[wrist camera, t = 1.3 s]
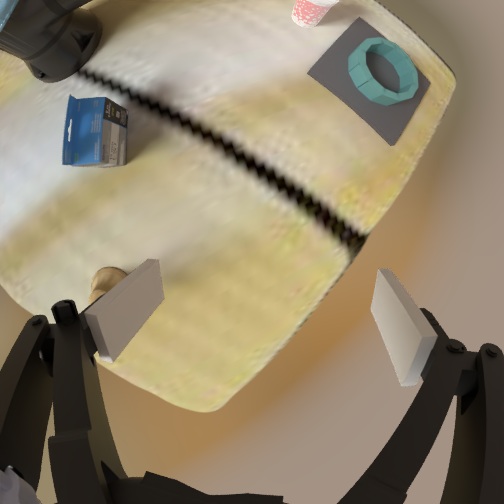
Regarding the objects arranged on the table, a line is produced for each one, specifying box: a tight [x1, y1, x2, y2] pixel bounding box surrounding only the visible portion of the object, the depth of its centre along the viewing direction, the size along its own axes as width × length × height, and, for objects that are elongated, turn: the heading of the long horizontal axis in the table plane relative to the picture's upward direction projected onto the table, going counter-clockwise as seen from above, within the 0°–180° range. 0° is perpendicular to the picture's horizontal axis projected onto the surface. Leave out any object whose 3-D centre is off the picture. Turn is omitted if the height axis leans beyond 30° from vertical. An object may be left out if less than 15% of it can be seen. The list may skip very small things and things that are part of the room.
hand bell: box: [89, 267, 127, 305], centre depth 33 cm, size 8×8×16 cm
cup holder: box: [307, 17, 430, 146], centre depth 33 cm, size 18×18×5 cm
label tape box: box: [62, 94, 128, 168], centre depth 29 cm, size 9×4×12 cm, turn 178°
